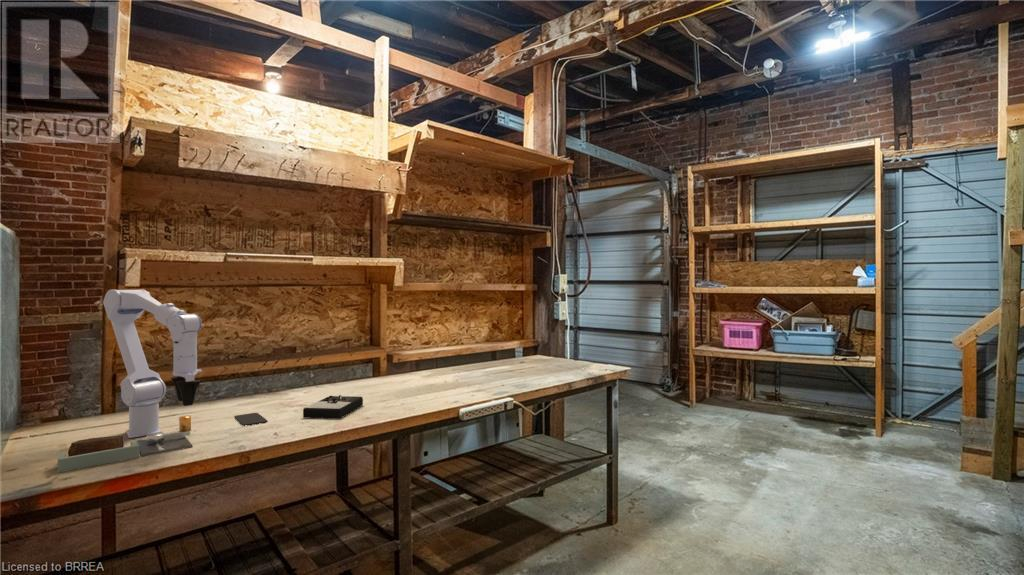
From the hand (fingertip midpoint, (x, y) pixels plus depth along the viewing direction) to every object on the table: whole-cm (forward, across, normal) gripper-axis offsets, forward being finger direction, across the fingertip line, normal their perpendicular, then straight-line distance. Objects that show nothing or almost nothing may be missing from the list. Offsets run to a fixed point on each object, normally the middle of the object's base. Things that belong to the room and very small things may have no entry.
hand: (185, 403), depth 145 cm
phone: (+11, +10, -20) cm, 25 cm away
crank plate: (+10, -2, +6) cm, 12 cm away
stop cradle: (+10, -6, +20) cm, 23 cm away
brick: (+11, -2, +20) cm, 23 cm away
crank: (+9, 0, +4) cm, 10 cm away
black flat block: (+11, +2, -45) cm, 46 cm away
